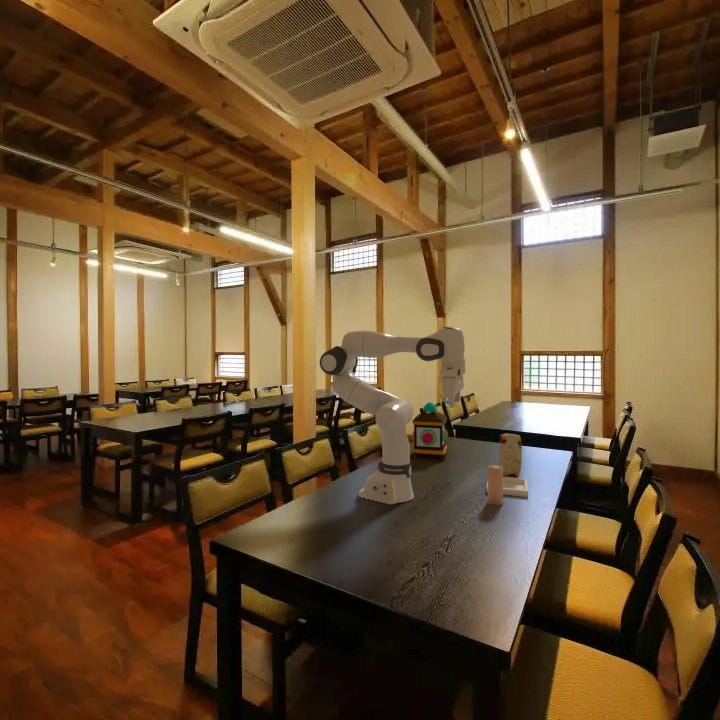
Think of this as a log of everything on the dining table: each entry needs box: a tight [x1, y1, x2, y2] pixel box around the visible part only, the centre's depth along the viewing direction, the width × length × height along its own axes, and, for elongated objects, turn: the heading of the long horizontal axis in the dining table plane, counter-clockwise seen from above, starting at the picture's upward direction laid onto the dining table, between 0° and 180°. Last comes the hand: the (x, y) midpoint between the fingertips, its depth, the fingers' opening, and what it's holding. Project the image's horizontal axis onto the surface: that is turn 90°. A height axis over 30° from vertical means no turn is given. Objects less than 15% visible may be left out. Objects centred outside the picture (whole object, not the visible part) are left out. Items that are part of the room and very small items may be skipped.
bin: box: [485, 476, 529, 498], centre depth 172 cm, size 16×16×2 cm
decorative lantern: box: [411, 401, 449, 462], centre depth 224 cm, size 20×20×30 cm
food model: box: [498, 432, 523, 478], centre depth 188 cm, size 10×7×20 cm
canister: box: [487, 464, 504, 507], centre depth 157 cm, size 6×6×14 cm
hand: (454, 404), depth 156 cm, fingers open, 8 cm apart
